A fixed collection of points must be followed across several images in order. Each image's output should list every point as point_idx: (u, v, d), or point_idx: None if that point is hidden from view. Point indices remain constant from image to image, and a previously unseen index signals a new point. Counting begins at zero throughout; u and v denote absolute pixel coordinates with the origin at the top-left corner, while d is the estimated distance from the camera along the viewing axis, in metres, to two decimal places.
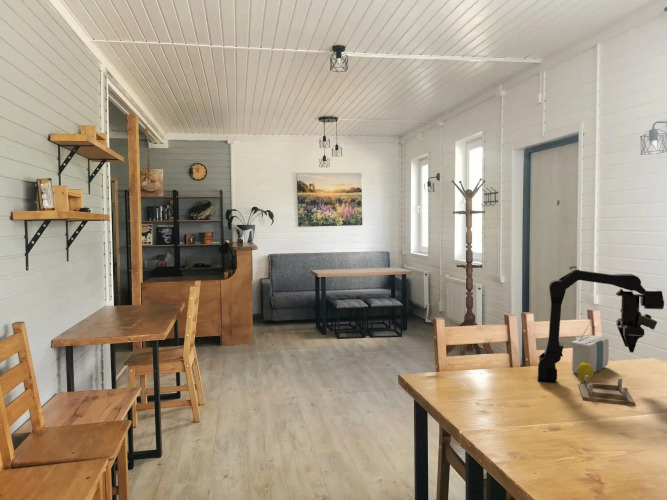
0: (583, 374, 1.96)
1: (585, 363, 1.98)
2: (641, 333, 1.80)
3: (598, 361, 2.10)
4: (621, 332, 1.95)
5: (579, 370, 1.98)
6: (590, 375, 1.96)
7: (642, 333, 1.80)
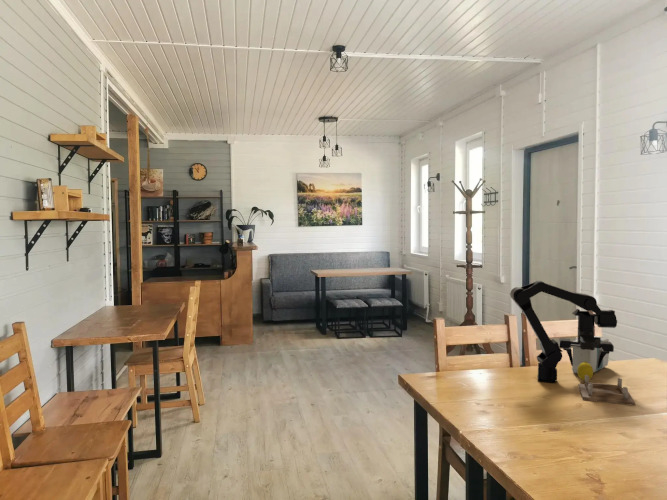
0: (583, 374, 1.96)
1: (585, 363, 1.98)
2: (559, 345, 1.99)
3: None
4: None
5: (579, 370, 1.98)
6: (590, 375, 1.96)
7: (559, 345, 1.99)
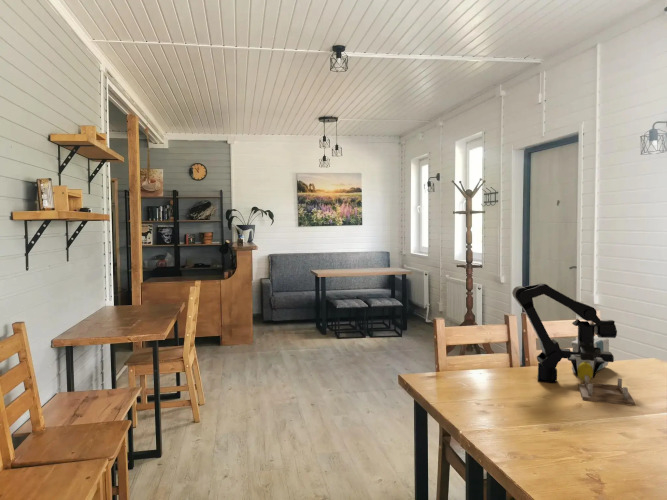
0: (583, 374, 1.96)
1: (585, 363, 1.98)
2: None
3: None
4: (594, 362, 1.99)
5: (579, 370, 1.98)
6: (590, 375, 1.96)
7: None
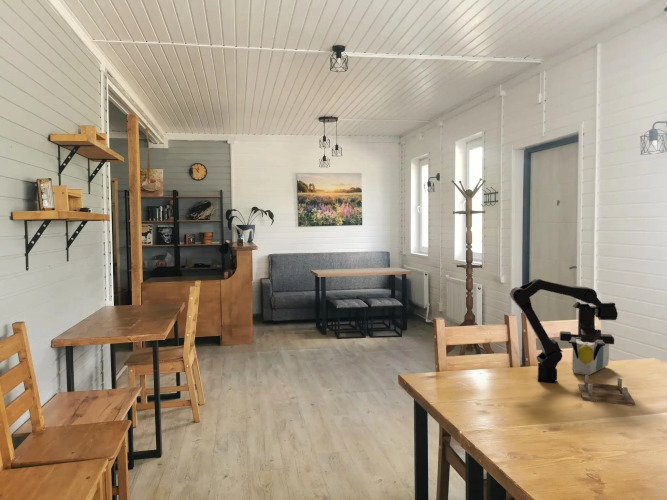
0: (584, 357, 1.96)
1: (586, 346, 1.97)
2: (560, 338, 1.99)
3: (598, 361, 2.10)
4: (594, 345, 1.99)
5: (580, 353, 1.97)
6: (591, 358, 1.96)
7: (560, 338, 1.99)
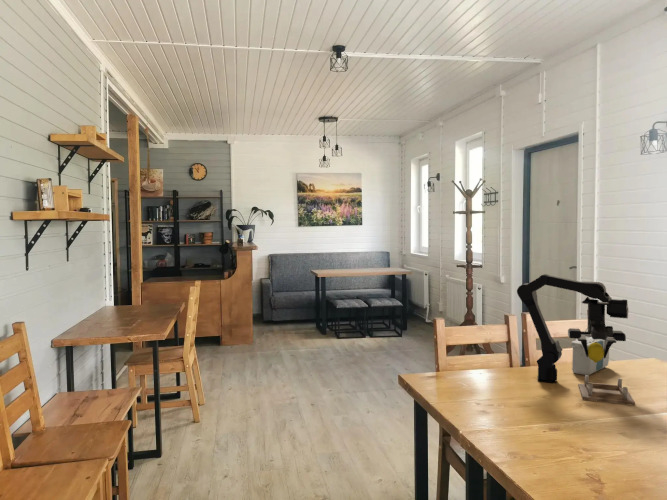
0: (594, 354, 1.88)
1: (596, 343, 1.90)
2: (569, 335, 1.91)
3: (598, 361, 2.10)
4: (604, 342, 1.91)
5: (590, 350, 1.90)
6: (601, 355, 1.88)
7: (569, 335, 1.91)
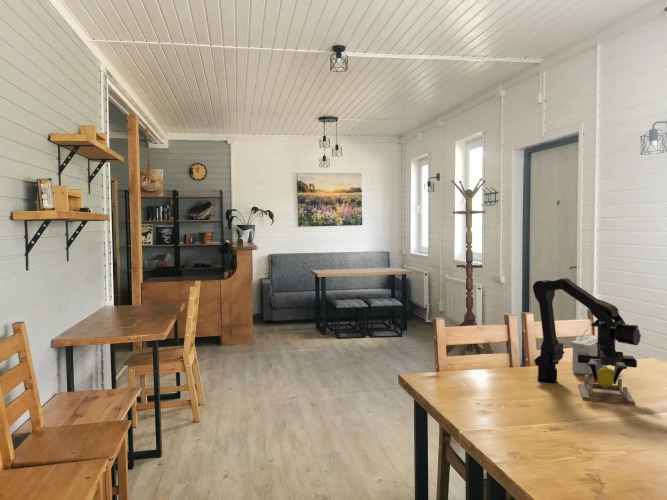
0: (603, 380, 1.81)
1: (605, 368, 1.82)
2: (577, 359, 1.84)
3: (598, 361, 2.10)
4: None
5: (599, 376, 1.82)
6: (611, 381, 1.80)
7: (577, 360, 1.83)
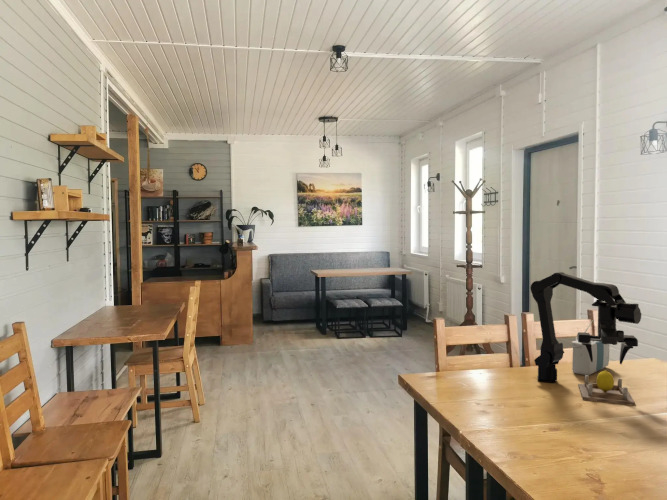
0: (603, 384, 1.81)
1: (605, 372, 1.82)
2: (578, 339, 1.83)
3: (598, 361, 2.10)
4: (621, 348, 1.82)
5: (598, 380, 1.82)
6: (611, 385, 1.80)
7: (578, 340, 1.83)
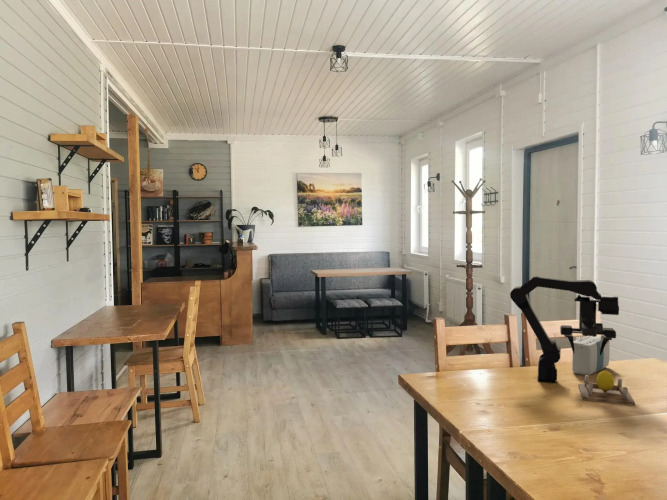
0: (603, 384, 1.81)
1: (605, 372, 1.82)
2: (560, 332, 1.95)
3: (598, 361, 2.10)
4: None
5: (598, 379, 1.82)
6: (611, 385, 1.80)
7: (561, 332, 1.95)
